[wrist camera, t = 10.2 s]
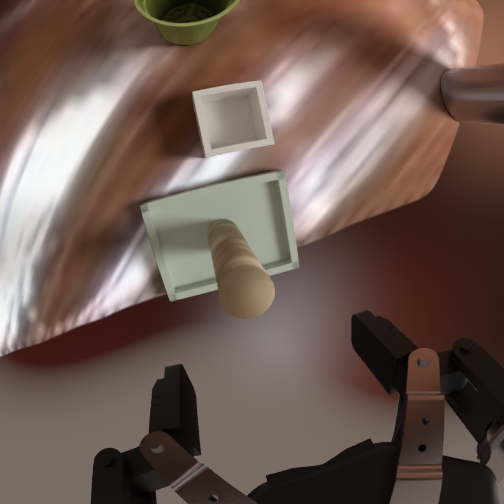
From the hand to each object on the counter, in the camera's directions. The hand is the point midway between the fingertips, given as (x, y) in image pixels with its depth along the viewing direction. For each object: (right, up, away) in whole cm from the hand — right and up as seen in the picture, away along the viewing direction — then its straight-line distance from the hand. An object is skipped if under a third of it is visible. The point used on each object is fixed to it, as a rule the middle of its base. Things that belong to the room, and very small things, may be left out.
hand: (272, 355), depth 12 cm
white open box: (-3, +18, +15) cm, 24 cm away
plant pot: (-8, +29, +10) cm, 32 cm away
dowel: (-4, +6, +18) cm, 20 cm away
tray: (-4, +7, +19) cm, 20 cm away
